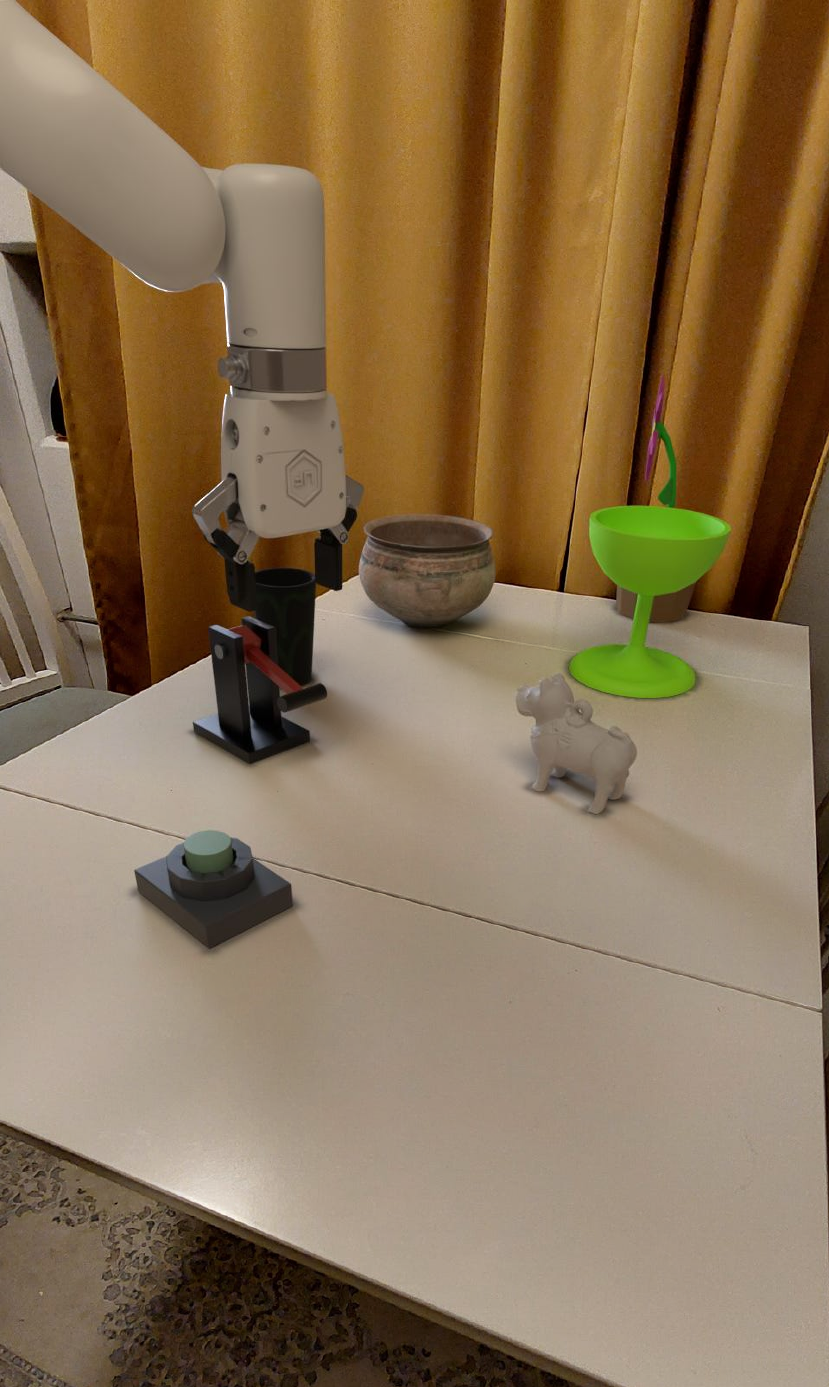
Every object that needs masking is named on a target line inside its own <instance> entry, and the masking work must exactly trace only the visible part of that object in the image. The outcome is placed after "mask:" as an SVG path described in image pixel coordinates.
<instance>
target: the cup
mask: <svg viewBox="0 0 829 1387" xmlns="http://www.w3.org/2000/svg"><path fill="white" fill-rule="evenodd" d="M255 578H256V594H257V609H256V610H255V611H253V614H254V619H257V620H259V621H261V622H264V623H266V624H268V625H271V626H273V627H275V629H276V644H277V659H278V666H279V667H280V668H281V669H282V670H283V671H284V672H285V673H287V674H288V675H289V676H290V677H291V678H292V679H293V680H294V681H295V682H297V683H298V684H299V685H300V686H301V687H302V686H304V685H307V684H309V683H310V682H311V681H312V678H313V677H312V676H313V657H314V656H313V655H314V636H315V634H314V633H315V617H316V616H315V614H316V613H315V612H316V596H317V595H316V594H317V593H316V592H317V583H316V582H315V573H313V572H311V571H310V570H306V569H302V568H295V567H271V568H270V567H269V568H265V569H260V570H257V571H256V570H255Z"/></svg>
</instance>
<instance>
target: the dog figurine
mask: <svg viewBox="0 0 829 1387" xmlns="http://www.w3.org/2000/svg"><path fill="white" fill-rule="evenodd" d="M550 677H551V680H550V678H548V677H542V678H540V680H538V685H535V686H529V685H526V684H524V685H520V686H518V688H517V689H516V694H515V705H516V710H517V712H518V713H519V715H521V716H523V717H530V718H531V717H532V718H534V719H535V723H534V724H535V725H533V726H532V727H531V731H530V735H529V737H530V745H531V749H532V751H533V754H534V756H535V758H536V761H537V776H536V780H535V782H534V783H533V784H532V785H531V789H532V790H533V791H535V792H544V791H545V790H546V789H547V787H548V785H550V784H549V779H550V777H551V776H553V777H555V778H557V779H559V778H563V777H564V776H565V775H566V770H567V769H568V770H571V771H574V772H576V773H580V774H583V775H586V776H588V777H590V778H591V779H593V780H595V793H594V798H593V802H592V803H591V805H590V806H589V808H588V812H589V813H591V814H595V815H599V814H601V813H602V812H603V811H604V809H605V808H606V805H607V802H608V800H613V801H614V800H619V799H621V798H622V796H623V792H624V789H625V785H626V781H627V779H628V778H629V776H630V768H631V767H632V765H633V764H634V763H635V761H636V759H637V755H638V749H637V746H636V744H635V743H634V741H633V740H632V737H631V736H630V734H628V733H627V732H624V731H623V730H622V729H621V728H620V727H618V726H616V725H613V726H611V727H610V728H606V727H603V726H601V725H599V724H597V723H596V722H593V721H592V720H591V719H592V718H593V712H594V709H593V706H592V704H591V703H590V702H589V701H588V700H585V699H577V700H575V697H574V693H573V690H572V688H571V686H570V684H568V683H567V681H566V679H565V676H564V675H563V674H562V673H560V672H556V673H553V674H551V676H550Z"/></svg>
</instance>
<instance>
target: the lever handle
mask: <svg viewBox="0 0 829 1387" xmlns="http://www.w3.org/2000/svg"><path fill="white" fill-rule="evenodd" d="M227 630H229V631H231V632H234V633H236V634H238V635H240V636H242V637H243V647H244V658H245V665H246V664H247V663H250V662H252V663H253V664H255V665H256V666H257V667H258V668H259V669H260V670H261V671H262V672H263V673H265V674H266V675H267V676H268V677H269V678H270V679H271V680H272V681H273V682H274V683H276V684H277V685H278V686H279V689H281V691H283V692H284V693H285V694H283V695H280V697H278V699H277V704H278V707H279V709H280V710H281V713H284V714H285V713H289V712H291V711H294V710H297V709H300V708H304V707H306V706H308V705H311V704H314V703H317V702H320V701H323V700H325V699H326V698H327V697H328V689H327V687H326V686H325V684H323V683H321V682H320V683H319V682H318V683H315V684H313V685H311V686H306V687H304V688H303V687H302V686H300V685H299V684H298V683H297V682H295V681H294V680H293V679H292V678H291V677H290V676H289V675H288V674H287V673H285V672H284V671H283V670H282V669H281V668H280V667H279V666H278V665H276V664H275V663H274V662H273V661H272V660H271V659H270V658H269V657H267V656H266V655H265V654H264V653H263V652H262V651H261V650H260V649H261V639H260V638H259V637H258V636H257V635H256V634H255V633H254V632H253V631H251V630H250V629H249V628H248V627H247V626H246V625H243V626H242V625H240V626H235V627H232V628H228V629H227Z"/></svg>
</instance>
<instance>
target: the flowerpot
mask: <svg viewBox="0 0 829 1387" xmlns="http://www.w3.org/2000/svg"><path fill="white" fill-rule="evenodd" d="M665 383H666V375H665V374H663V375H662V377H661V380H660V384H659V387H658V392H657V398H656V405H655V406H654V412H653V417H652V422H651V429H652V430H651V436H650V438H649V441H648V442H649V443H648V447H647V455H646V466H645V479H644V480H645V483H648V481H649V477H650V474H651V471H652V467H653V466H652V465H653V461H654V460H653V459H654V455H655V454H656V453H655V452H656V448H657V442H658V440H659V439H661V440H662V442H663V444H664V448H665V452H666V456H667V460H668V466H669V469H668V470H669V472H668V474H669V475H668V476H669V477H668V478H669V479H668V481H667V482H666V484H665V485H664V487H663V488H662V489H661V490H660V492H659V493H658V495H657V500H658V501H659V502H660V503H661V504H662V505H663V506H666V507H670V508H676V503H677V501H676V497H677V459H676V455H675V452H674V447H673V443H672V440H671V436H670V435H669V433H668V430H667V429H666V427H665V425H664V423H663V422H662V419H661V417H662V413H663V406H664V400H665V399H664V398H665V385H666V384H665ZM697 583H698V580H697V581H696V582H695V583H693V584H691V585H689V586H687V587H685V588H683V589H681V590H680V591H677V592H674V593H668V594H663V595H657V596H654V598H653V603H652V608H651V614H650V619H649V623H671V622H677V621H681V620H682V619H683V618H684V617H685V616H686V615H687V610H688V608H689V605H690V603H691V600H692V596H693V594H694V591H695V587H696V585H697ZM637 597H638V594H636V593H633V592H631V591H629V590H626V589H624V588H622V587H620V586H618V585H617V584H616V598H615V600H616V601H615V603H616V604H615V609H616V610H617V611H618V612H619V614H620V615H622V616H624V617H627V618H629V619H631V620H634V614H635V609H636V603H637Z"/></svg>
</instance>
